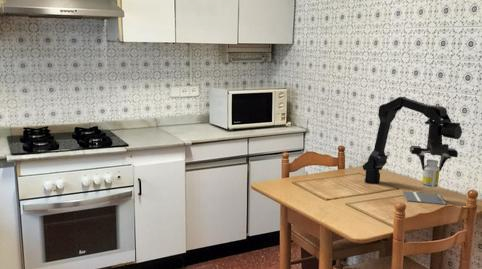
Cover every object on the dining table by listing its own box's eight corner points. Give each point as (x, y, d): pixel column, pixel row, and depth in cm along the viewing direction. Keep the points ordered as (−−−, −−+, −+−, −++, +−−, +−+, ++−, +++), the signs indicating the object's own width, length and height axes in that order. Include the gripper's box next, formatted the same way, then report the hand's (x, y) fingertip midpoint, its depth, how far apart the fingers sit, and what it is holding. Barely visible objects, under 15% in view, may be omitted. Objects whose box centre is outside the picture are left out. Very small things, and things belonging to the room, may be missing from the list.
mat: (407, 201, 202) (407, 199, 202) (402, 192, 215) (402, 190, 215) (446, 204, 199) (446, 203, 199) (439, 195, 212) (439, 194, 212)
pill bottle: (437, 185, 208) (440, 159, 206) (438, 189, 202) (441, 162, 200) (421, 183, 210) (424, 158, 208) (422, 187, 204) (424, 161, 202)
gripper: (415, 137, 196) (411, 173, 199) (463, 140, 192) (458, 176, 195) (411, 132, 207) (408, 167, 209) (456, 135, 203) (452, 170, 206)
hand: (431, 170), depth 205 cm, fingers closed on pill bottle, 6 cm apart
